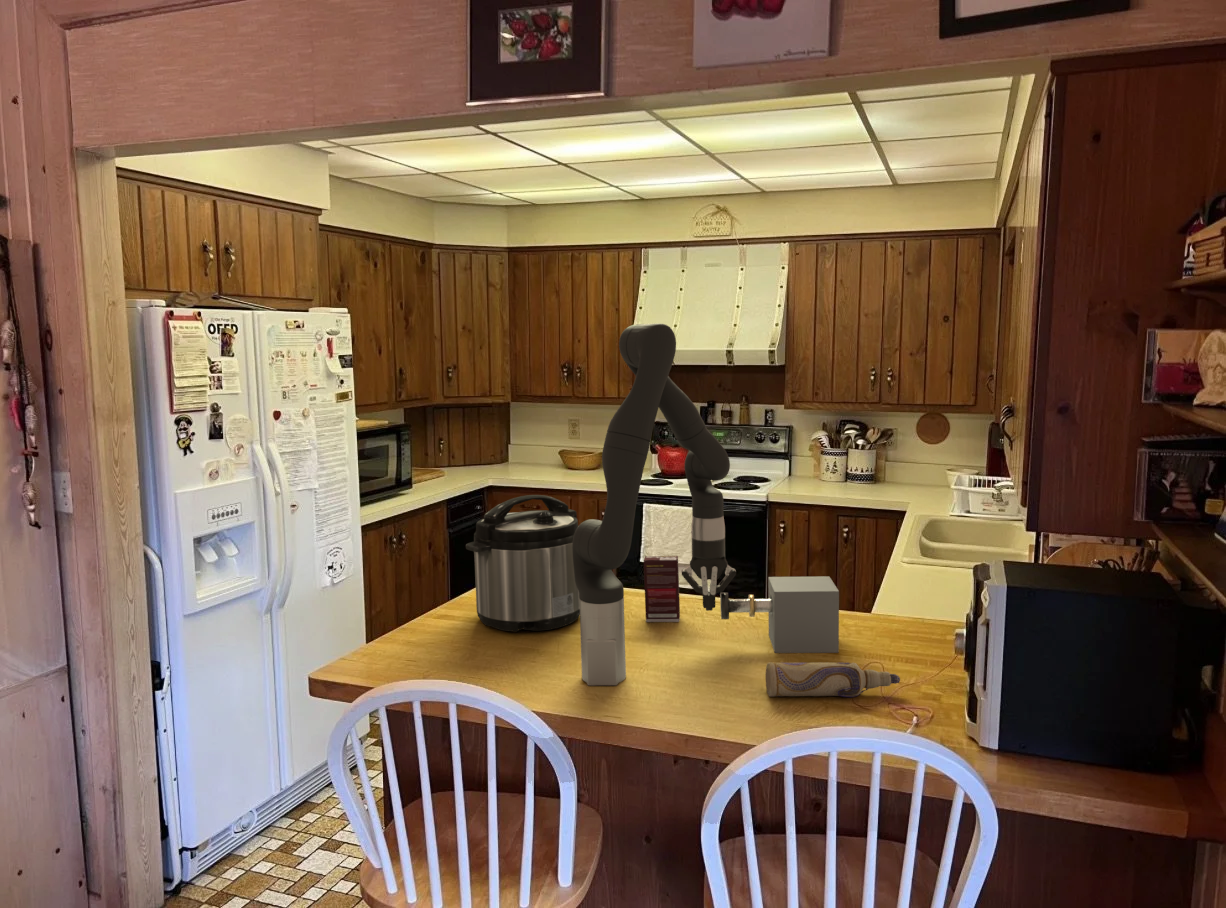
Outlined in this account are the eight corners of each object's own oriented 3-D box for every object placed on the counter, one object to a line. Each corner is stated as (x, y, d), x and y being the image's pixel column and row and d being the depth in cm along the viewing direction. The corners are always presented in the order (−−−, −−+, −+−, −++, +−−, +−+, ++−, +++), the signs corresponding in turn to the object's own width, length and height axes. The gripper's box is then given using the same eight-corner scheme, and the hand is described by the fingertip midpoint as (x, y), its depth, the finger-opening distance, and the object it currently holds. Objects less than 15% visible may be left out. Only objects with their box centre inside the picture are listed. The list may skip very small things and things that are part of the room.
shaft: (814, 622, 199) (814, 596, 199) (722, 622, 201) (721, 597, 200) (810, 613, 205) (810, 588, 205) (720, 614, 207) (720, 589, 206)
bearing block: (838, 652, 197) (838, 591, 195) (774, 652, 198) (774, 591, 196) (828, 634, 209) (829, 576, 207) (768, 634, 210) (768, 576, 208)
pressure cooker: (586, 598, 243) (582, 483, 238) (594, 632, 215) (589, 503, 211) (474, 604, 240) (468, 488, 236) (468, 640, 212) (461, 509, 208)
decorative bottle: (769, 703, 171) (769, 670, 171) (764, 688, 179) (764, 656, 178) (905, 702, 170) (906, 668, 169) (895, 687, 178) (895, 654, 177)
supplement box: (680, 616, 225) (679, 555, 223) (679, 622, 220) (678, 560, 218) (646, 616, 226) (644, 555, 224) (644, 622, 221) (643, 560, 219)
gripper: (679, 539, 198) (680, 615, 200) (739, 538, 197) (739, 614, 200) (678, 532, 206) (679, 605, 208) (736, 531, 205) (736, 604, 207)
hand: (709, 609), depth 204 cm, fingers closed
